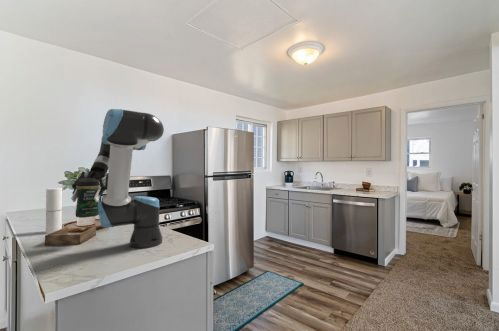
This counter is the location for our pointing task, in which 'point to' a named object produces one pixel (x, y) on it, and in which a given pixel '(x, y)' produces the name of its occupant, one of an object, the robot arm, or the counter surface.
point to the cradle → (69, 237)
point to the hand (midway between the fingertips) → (84, 200)
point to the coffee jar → (87, 197)
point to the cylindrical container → (53, 210)
